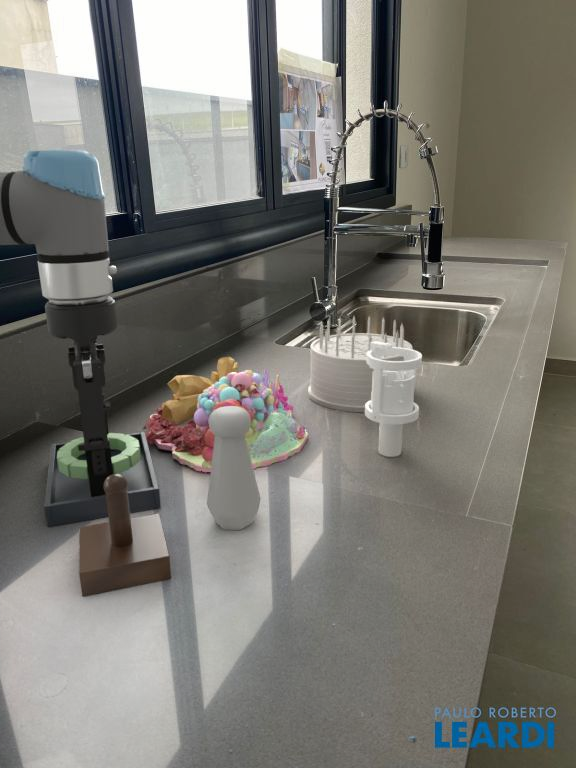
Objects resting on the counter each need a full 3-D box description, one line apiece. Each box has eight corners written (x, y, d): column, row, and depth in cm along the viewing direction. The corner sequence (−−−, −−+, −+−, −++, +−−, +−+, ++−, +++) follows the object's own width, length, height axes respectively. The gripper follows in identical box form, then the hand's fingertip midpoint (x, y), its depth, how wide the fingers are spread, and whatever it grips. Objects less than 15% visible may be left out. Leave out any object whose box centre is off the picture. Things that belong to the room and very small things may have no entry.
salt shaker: (272, 519, 66) (269, 409, 62) (233, 541, 63) (227, 425, 58) (236, 501, 70) (231, 396, 66) (197, 521, 66) (189, 411, 62)
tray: (47, 527, 66) (44, 507, 65) (53, 461, 81) (51, 443, 80) (160, 507, 69) (159, 488, 68) (146, 448, 85) (144, 431, 84)
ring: (57, 484, 68) (55, 471, 68) (60, 450, 77) (58, 438, 77) (143, 471, 71) (142, 459, 71) (137, 439, 80) (135, 428, 79)
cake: (431, 390, 106) (436, 315, 101) (375, 420, 93) (378, 336, 88) (347, 371, 117) (348, 303, 112) (286, 396, 104) (285, 320, 100)
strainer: (384, 436, 87) (388, 335, 82) (426, 451, 82) (433, 345, 77) (353, 452, 82) (355, 346, 78) (395, 468, 78) (401, 356, 73)
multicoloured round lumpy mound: (114, 433, 89) (107, 374, 86) (233, 393, 106) (230, 341, 103) (227, 488, 73) (223, 417, 70) (346, 430, 89) (347, 371, 86)
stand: (82, 596, 55) (68, 503, 51) (82, 548, 62) (69, 463, 59) (171, 578, 57) (163, 487, 54) (161, 533, 64) (153, 451, 61)
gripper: (119, 315, 59) (141, 516, 66) (110, 281, 79) (127, 438, 86) (37, 321, 57) (68, 529, 64) (48, 284, 77) (71, 445, 84)
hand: (102, 477), depth 75 cm, fingers closed on ring, 9 cm apart
